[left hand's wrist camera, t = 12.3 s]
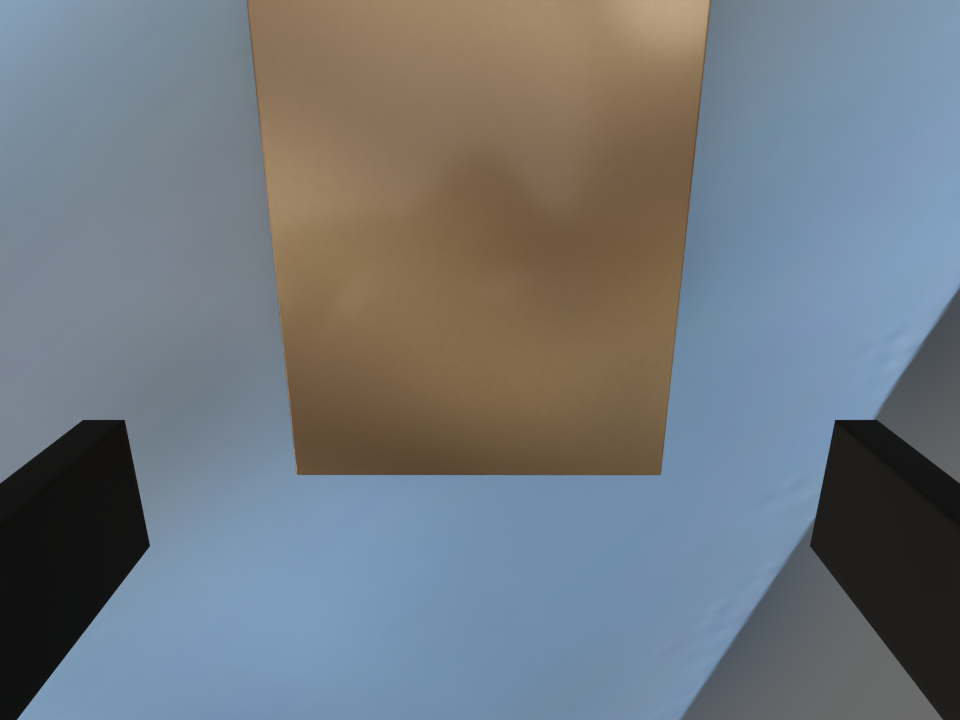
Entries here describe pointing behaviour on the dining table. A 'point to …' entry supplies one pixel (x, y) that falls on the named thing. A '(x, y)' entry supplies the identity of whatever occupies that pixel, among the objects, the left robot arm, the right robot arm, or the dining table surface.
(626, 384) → the wooden drawer box
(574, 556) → the dining table surface
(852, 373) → the dining table surface
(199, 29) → the dining table surface
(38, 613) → the left robot arm
